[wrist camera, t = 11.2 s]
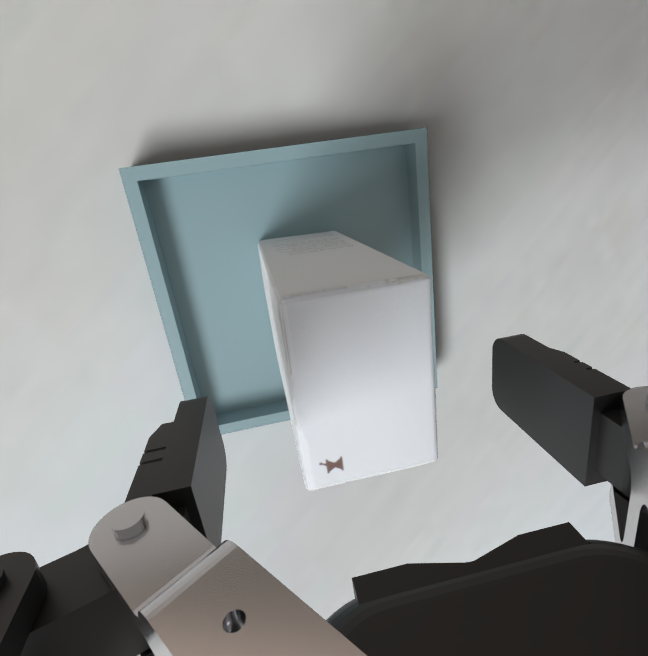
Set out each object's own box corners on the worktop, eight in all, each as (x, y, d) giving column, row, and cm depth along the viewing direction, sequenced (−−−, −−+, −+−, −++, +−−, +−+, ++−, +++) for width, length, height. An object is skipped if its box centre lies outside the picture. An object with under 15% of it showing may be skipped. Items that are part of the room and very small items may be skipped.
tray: (412, 131, 21) (426, 127, 20) (425, 374, 26) (437, 388, 25) (129, 169, 20) (118, 168, 18) (199, 422, 25) (196, 440, 23)
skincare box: (348, 333, 24) (441, 468, 13) (274, 347, 23) (303, 499, 12) (337, 225, 22) (437, 272, 11) (255, 236, 21) (270, 300, 10)
